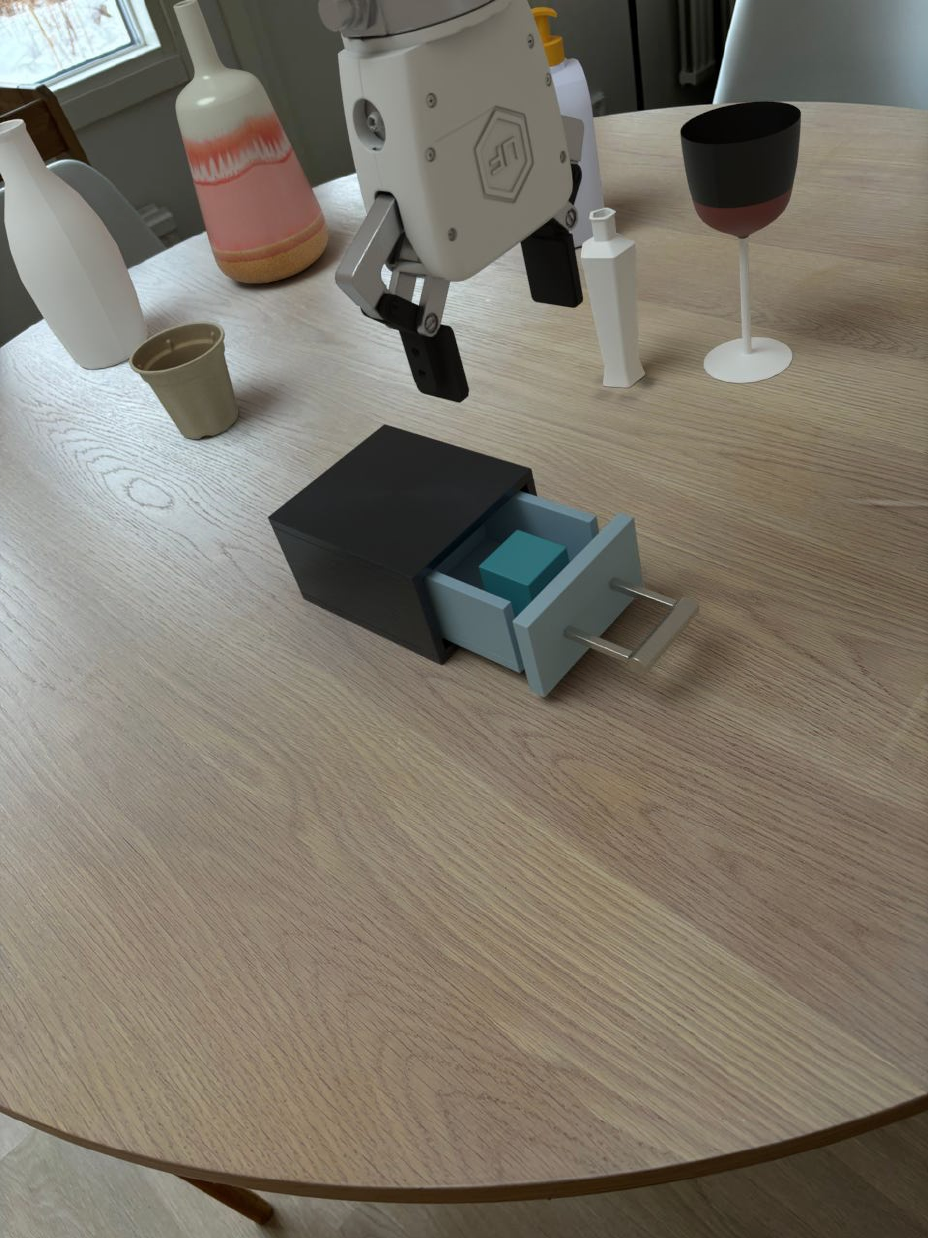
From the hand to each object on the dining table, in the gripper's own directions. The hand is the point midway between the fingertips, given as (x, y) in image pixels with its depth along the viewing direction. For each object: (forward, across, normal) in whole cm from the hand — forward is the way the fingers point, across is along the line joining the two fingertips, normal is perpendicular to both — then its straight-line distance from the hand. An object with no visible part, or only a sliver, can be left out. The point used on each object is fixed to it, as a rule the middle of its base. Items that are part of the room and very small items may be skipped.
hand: (503, 347), depth 54 cm
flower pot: (+22, +8, +51) cm, 56 cm away
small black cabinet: (+22, 0, +14) cm, 26 cm away
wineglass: (+22, +36, +7) cm, 43 cm away
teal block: (+20, 0, +3) cm, 21 cm away
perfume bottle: (+22, +29, +16) cm, 40 cm away
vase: (+21, +36, +72) cm, 83 cm away
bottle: (+21, +13, +77) cm, 81 cm away
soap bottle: (+22, +53, +39) cm, 69 cm away
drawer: (+21, 0, +2) cm, 21 cm away
